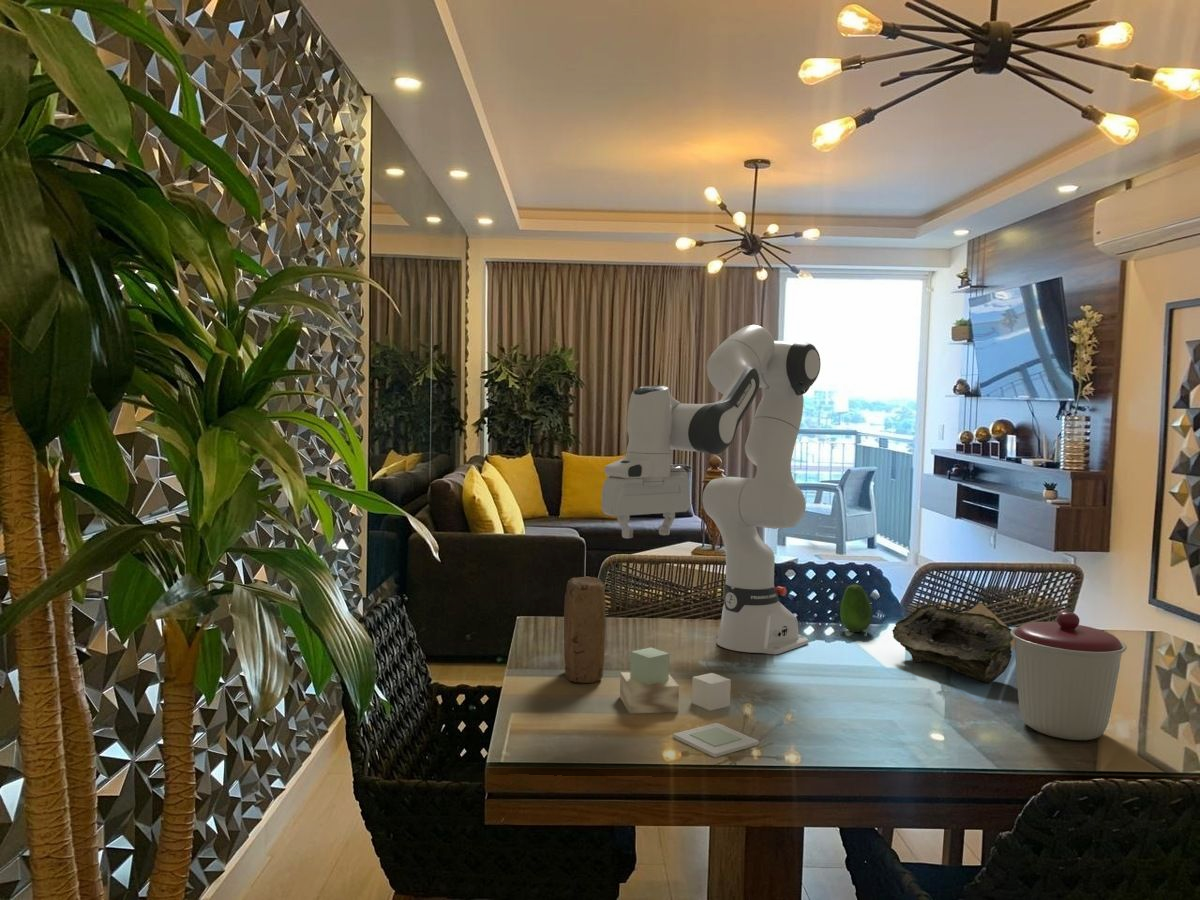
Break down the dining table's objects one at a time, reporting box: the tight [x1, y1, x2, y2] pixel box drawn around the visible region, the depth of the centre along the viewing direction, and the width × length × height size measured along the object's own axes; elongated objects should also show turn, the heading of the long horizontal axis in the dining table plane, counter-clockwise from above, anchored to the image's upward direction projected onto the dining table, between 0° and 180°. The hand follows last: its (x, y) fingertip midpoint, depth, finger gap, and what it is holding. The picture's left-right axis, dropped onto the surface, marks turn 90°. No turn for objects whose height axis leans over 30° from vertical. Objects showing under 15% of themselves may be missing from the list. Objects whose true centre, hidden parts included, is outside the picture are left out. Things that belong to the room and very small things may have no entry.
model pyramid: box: [966, 602, 1015, 649], centre depth 218 cm, size 17×17×10 cm
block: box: [563, 576, 606, 684], centre depth 180 cm, size 11×8×20 cm
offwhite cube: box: [691, 672, 732, 711], centre depth 166 cm, size 5×5×5 cm
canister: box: [1010, 611, 1128, 741], centre depth 157 cm, size 18×18×21 cm
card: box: [672, 722, 760, 758], centre depth 148 cm, size 10×10×1 cm
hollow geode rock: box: [891, 604, 1013, 684], centre depth 192 cm, size 28×13×15 cm
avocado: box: [839, 583, 873, 633], centre depth 223 cm, size 8×8×12 cm
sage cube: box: [629, 646, 670, 685], centre depth 165 cm, size 5×5×5 cm
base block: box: [619, 671, 680, 714], centre depth 165 cm, size 9×9×5 cm
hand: (646, 536), depth 178 cm, fingers open, 8 cm apart
